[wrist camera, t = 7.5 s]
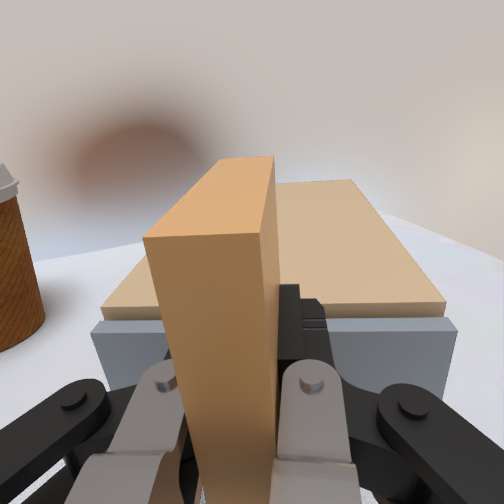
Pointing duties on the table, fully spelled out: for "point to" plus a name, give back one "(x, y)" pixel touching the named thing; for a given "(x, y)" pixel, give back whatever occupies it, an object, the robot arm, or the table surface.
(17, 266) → the disposable coffee cup
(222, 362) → the grey box
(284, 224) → the box lid
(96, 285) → the table surface
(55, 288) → the table surface
